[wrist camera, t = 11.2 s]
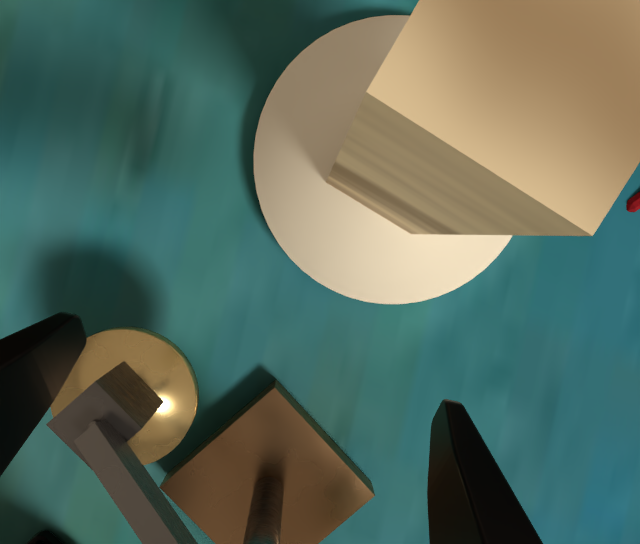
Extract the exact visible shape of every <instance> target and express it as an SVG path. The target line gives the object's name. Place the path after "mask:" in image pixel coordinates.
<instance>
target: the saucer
mask: <svg viewBox="0 0 640 544" xmlns="http://www.w3.org/2000/svg"><path fill="white" fill-rule="evenodd" d="M409 17H410V16H405V15H386V16H377V17H369V18H366V19H362V20H358V21H354V22H351V23H348V24H346V25H343V26H341V27H339V28H336V29H334V30H332V31H330V32H329V33H327V34H325V35H324V36H322V37H320V38H318V39H317V40H316V41H314V42H313V43H312V44H310V45H309V46H308V47H307V48H305V49H304V50H303V51H302V52H301V53H300V54H299V55H298V56H297V57H296V58H295V59H294V60H293V61H292V62H291V63H290V64H289V65H288V66H287V68H286V69H285V70H284V72H283V73H282V74H281V76H280V77H279V79H278V80H277V81H276V83H275V85H274V87H273V89H272V90H271V92H270V94H269V96H268V98H267V100H266V103H265V105H264V108H263V110H262V113H261V115H260V119H259V123H258V127H257V131H256V137H255V145H254V178H255V185H256V192H257V195H258V199H259V202H260V206H261V210H262V212H263V214H264V217H265V219H266V222H267V224H268V226H269V228H270V230H271V232H272V233H273V235H274V237H275V238H276V240H277V242H278V243H279V245H280V246H281V247H282V249H283V250H284V251H285V252H286V254H287V255H288V256H289V258H290V259H291V260H292V261H293V262H294V263H295V264H296V265H297V266H298V267H299V268H300V269H301V270H302V271H304V272H305V273H306V274H308V275H309V276H310V277H312V278H313V279H314V280H316V281H317V282H319V283H320V284H322V285H324V286H326V287H327V288H329V289H331V290H333V291H335V292H337V293H340V294H342V295H345V296H347V297H350V298H354V299H358V300H361V301H365V302H372V303H379V304H406V303H413V302H420V301H424V300H427V299H431V298H435V297H438V296H440V295H443V294H445V293H448V292H450V291H452V290H454V289H456V288H458V287H460V286H461V285H463V284H465V283H467V282H468V281H470V280H471V279H473V278H474V277H475V276H477V275H478V274H479V273H480V272H482V271H483V270H484V269H485V268H486V267H487V266H488V265H489V264H490V263H491V262H492V261H493V260H494V259H495V258H496V257H497V256H498V255H499V254H500V252H501V251H502V250H503V249H504V247H505V246H506V245H507V244H508V242H509V240H510V239H511V237H512V236H513V235H438V234H410V233H408V232H407V231H405V230H403V229H402V228H400V227H398V226H397V225H395V224H393V223H392V222H390V221H388V220H387V219H385V218H384V217H382V216H380V215H379V214H377V213H375V212H374V211H372V210H370V209H369V208H367V207H365V206H364V205H362V204H361V203H359V202H357V201H356V200H354V199H352V198H351V197H349V196H347V195H346V194H344V193H342V192H341V191H339V190H337V189H336V188H334V187H333V186H331V185H329V184H328V183H326V181H327V178H328V176H329V174H330V172H331V169H332V167H333V165H334V163H335V160H336V158H337V156H338V154H339V151H340V149H341V147H342V145H343V142H344V140H345V138H346V136H347V133H348V131H349V129H350V127H351V124H352V122H353V120H354V118H355V115H356V113H357V111H358V109H359V106H360V104H361V102H362V100H363V97H364V95H365V93H366V91H367V89H368V88H369V86H370V84H371V82H372V81H373V79H374V77H375V76H376V74H377V72H378V70H379V69H380V67H381V65H382V64H383V62H384V60H385V58H386V57H387V55H388V53H389V52H390V50H391V48H392V46H393V45H394V43H395V41H396V40H397V38H398V36H399V34H400V33H401V31H402V29H403V28H404V26H405V24H406V22H407V21H408V19H409Z"/></svg>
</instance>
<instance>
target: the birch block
mask: <svg viewBox="0 0 640 544" xmlns="http://www.w3.org/2000/svg"><path fill="white" fill-rule="evenodd" d="M639 162H640V0H419V2H418V4H417V5H416V7H415V9H414V10H413V12H412V14H411V16H410V17H409V19H408V21H407V22H406V24H405V26H404V28H403V29H402V31H401V33H400V34H399V36H398V38H397V40H396V41H395V43H394V45H393V46H392V48H391V50H390V52H389V53H388V55H387V57H386V58H385V60H384V62H383V64H382V65H381V67H380V69H379V70H378V72H377V74H376V76H375V77H374V79H373V81H372V82H371V84H370V86H369V88H368V89H367V91H366V93H365V95H364V97H363V100H362V102H361V104H360V106H359V109H358V111H357V113H356V115H355V118H354V120H353V122H352V124H351V127H350V129H349V131H348V133H347V136H346V138H345V140H344V142H343V145H342V147H341V149H340V151H339V154H338V156H337V158H336V160H335V163H334V165H333V167H332V169H331V172H330V174H329V176H328V178H327V181H326V183H328V184H329V185H331V186H333V187H334V188H336V189H337V190H339V191H341V192H342V193H344V194H346V195H347V196H349V197H351V198H352V199H354V200H356V201H357V202H359V203H361V204H362V205H364V206H365V207H367V208H369V209H370V210H372V211H374V212H375V213H377V214H379V215H380V216H382V217H384V218H385V219H387V220H388V221H390V222H392V223H393V224H395V225H397V226H398V227H400V228H402V229H403V230H405V231H407V232H408V233H410V234H438V235H547V236H593V235H594V233H595V231H596V230H597V228H598V227H599V225H600V224H601V222H602V220H603V219H604V217H605V216H606V214H607V213H608V211H609V209H610V208H611V206H612V205H613V203H614V202H615V200H616V198H617V197H618V195H619V194H620V192H621V191H622V189H623V187H624V186H625V184H626V183H627V181H628V180H629V178H630V176H631V175H632V173H633V172H634V170H635V169H636V167H637V165H638V164H639Z"/></svg>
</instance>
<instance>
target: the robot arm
mask: <svg viewBox="0 0 640 544" xmlns="http://www.w3.org/2000/svg"><path fill="white" fill-rule="evenodd" d="M86 342H87V337H86V334H85V331H84V327H83V324H82V321H81V318H80V317H79V316H78V315H75V314H71V313H66V312H60V313H57V314H55V315H53V316H51V317H48V318H46V319H44V320H42V321H40V322H38V323H35V324H33V325H31V326H29V327H27V328H24V329H22V330H20V331H18V332H16V333H13V334H11V335H9V336H7V337H5V338H2V339H0V476H1V475H2V473H3V472H4V471H5V469H6V468H7V466H8V465H9V464H10V462H11V461H12V459H13V458H14V457H15V455H16V454H17V452H18V451H19V450H20V448H21V447H22V445H23V444H24V443H25V441H26V440H27V438H28V437H29V436H30V434H31V433H32V431H33V430H34V429H35V427H36V426H37V424H38V423H39V422H40V420H41V419H42V417H43V416H44V414H45V413H46V412H47V410H48V409H49V407H50V406H51V404H52V403H53V401H54V400H55V398H56V397H57V395H58V393H59V392H60V390H61V388H62V386H63V385H64V383H65V381H66V379H67V378H68V376H69V374H70V372H71V371H72V369H73V367H74V365H75V364H76V362H77V360H78V358H79V357H80V355H81V353H82V351H83V350H84V348H85V345H86ZM427 496H428V519H429V537H430V544H543V543H542V541H541V539H540V537H539V536H538V534H537V532H536V531H535V529H534V527H533V525H532V524H531V522H530V520H529V518H528V517H527V515H526V513H525V511H524V510H523V508H522V506H521V505H520V503H519V501H518V499H517V498H516V496H515V494H514V492H513V491H512V489H511V487H510V485H509V484H508V482H507V480H506V479H505V477H504V475H503V473H502V472H501V470H500V468H499V466H498V465H497V463H496V461H495V459H494V458H493V456H492V454H491V453H490V451H489V449H488V447H487V446H486V444H485V442H484V440H483V439H482V437H481V435H480V433H479V432H478V430H477V428H476V427H475V425H474V423H473V421H472V420H471V418H470V416H469V414H468V413H467V411H466V409H465V407H464V406H463V405H462V404H461V403H460V402H457V401H452V400H448V399H444V400H443V401H442V402H441V404H440V406H439V408H438V410H437V412H436V414H435V416H434V418H433V420H432V425H431V437H430V454H429V471H428V490H427ZM41 540H42V541H44V542H45V543H43V542H41ZM26 544H63V543H62V542H61V541H60V540H59V539H58V538H56V537H55V536H54V535H53V534H52V533H51V532H49V531H46V530H44V531H40V532H39V533H37V534H36V535H35V536H34V537H33V538H32V539H31V540H29V541H28V542H27V543H26Z"/></svg>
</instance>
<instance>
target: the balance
mask: <svg viewBox="0 0 640 544" xmlns="http://www.w3.org/2000/svg"><path fill="white" fill-rule="evenodd" d="M198 401H199V388H198V382H197V378H196V375H195V372H194V370H193V367H192V365H191V363H190V362H189V360H188V359H187V357H186V356H185V354H184V353H183V352H182V351H181V350H180V349H179V348H178V347H177V346H176V345H175V344H174V343H173V342H171V341H170V340H168V339H167V338H166V337H164V336H162V335H160V334H158V333H156V332H153V331H150V330H147V329H143V328H138V327H116V328H111V329H107V330H103V331H101V332H98V333H96V334H94V335H92V336H90V337H88V338H87V342H86V345H85V348H84V350H83V351H82V353H81V355H80V357H79V358H78V360H77V362H76V364H75V365H74V367H73V369H72V371H71V372H70V374H69V376H68V378H67V379H66V381H65V383H64V385H63V386H62V388H61V390H60V392H59V393H58V395H57V397H56V398H55V400H54V401H53V403H52V404H51V411H52V415H53V419H52V420H51V421H50V422H48V423H47V424H46V425H47V426H48V427H49V428H50V429H51V430H52V431H53V432H54V433H55V434H56V435H57V436H58V437H59V438H60V439H61V440H62V441H63V442H64V443H65V444H67V445H68V446H69V447H70V448H71V449H72V450H73V451H74V452H75V453H76V454H77V455H78V456H79V457H80V458H81V459H82V460H83V461H84V462H85V463H86V464H87V465H88V466H89V467H90V468H91V469H92V470H93V471H94V472H95V474H96V475H97V477H98V478H99V480H100V481H101V483H102V484H103V486H104V487H105V489H106V490H107V492H108V493H109V495H110V496H111V498H112V499H113V501H114V502H115V503H116V505H117V506H118V508H119V509H120V511H121V512H122V514H123V515H124V517H125V518H126V520H127V521H128V523H129V524H130V526H131V527H132V529H133V530H134V532H135V533H136V535H137V536H138V538H139V539H140V541H141V542H142V544H198V543H197V542H196V541H195V539H194V538H193V536H192V535H191V533H190V532H189V530H188V529H187V528H186V526H185V525H184V523H183V522H182V520H181V519H180V518H179V516H178V515H177V513H176V512H175V510H174V509H173V508H172V506H171V505H170V503H169V502H168V500H167V499H166V498H165V496H164V495H163V493H162V492H161V490H160V489H159V488H158V486H157V485H156V483H155V482H154V480H153V479H152V478H151V476H150V475H149V473H148V472H147V470H146V469H145V467H144V466H143V465H146V464H149V463H152V462H154V461H157V460H159V459H160V458H162V457H164V456H165V455H167V454H168V453H169V452H171V451H172V450H173V449H174V448H175V447H176V446H177V445H178V444H179V443H180V442H181V440H182V439H183V438H184V436H185V435H186V433H187V431H188V430H189V428H190V426H191V424H192V423H193V420H194V418H195V415H196V412H197V408H198ZM160 488H161V489H162V490H163V491H164V492H165V493H166V494H167V495H168V496H169V497H170V498H171V499H172V500H173V501H174V502H175V503H176V504H177V505H178V506H179V507H180V508H181V509H182V510H183V511H184V512H185V513H186V514H187V515H188V516H189V517H190V518H191V519H192V520H193V521H194V522H195V523H196V524H197V525H198V526H199V527H200V528H201V529H202V530H203V531H204V532H205V533H206V534H207V535H208V536H209V537H210V538H211V539H212V540H213V541H214V542H215V543H216V544H318V543H319V542H321V541H322V540H323V539H324V538H325V537H327V536H328V535H329V534H330V533H331V532H332V531H334V530H335V529H336V528H337V527H338V526H340V525H341V524H342V523H343V522H344V521H345V520H347V519H348V518H349V517H350V516H351V515H353V514H354V513H355V512H356V511H357V510H358V509H360V508H361V507H362V506H363V505H364V504H366V503H367V502H368V501H369V500H370V499H371V498H373V497H374V496H375V494H374V490H373V487H372V483H371V481H370V480H369V479H368V478H367V477H366V476H365V475H364V474H363V473H362V471H361V470H360V469H359V468H358V467H357V466H356V465H355V464H354V463H353V462H352V461H351V460H350V458H349V457H348V456H347V455H346V454H345V453H344V452H343V451H342V450H341V449H340V448H339V447H338V446H337V444H336V443H335V442H334V441H333V440H332V439H331V438H330V437H329V436H328V435H327V434H326V433H325V431H324V430H323V429H322V428H321V427H320V426H319V425H318V424H317V423H316V422H315V421H314V420H313V418H312V417H311V416H310V415H309V414H308V413H307V412H306V411H305V410H304V409H303V408H302V407H301V405H300V404H299V403H298V402H297V401H296V400H295V399H294V398H293V397H292V396H291V395H290V394H289V393H288V391H287V390H286V389H285V388H284V387H283V386H282V385H281V384H280V383H279V382H278V381H277V380H275V381H274V382H272V383H271V384H270V385H269V386H268V387H267V388H266V389H264V390H263V391H262V392H261V393H260V394H259V395H257V396H256V397H255V398H254V399H253V400H252V401H251V402H249V403H248V404H247V405H246V406H245V407H244V408H242V409H241V410H240V411H239V412H238V413H237V414H236V415H234V416H233V417H232V418H231V419H230V420H229V421H227V422H226V423H225V424H224V425H223V426H222V427H221V428H219V429H218V430H217V431H216V432H215V433H214V434H212V435H211V436H210V437H209V438H208V439H207V440H206V441H204V442H203V443H202V444H201V445H200V446H199V447H197V448H196V449H195V450H194V451H193V452H192V453H191V454H189V455H188V456H187V457H186V458H185V459H184V460H182V461H181V462H180V463H179V464H178V465H177V466H176V467H174V468H173V469H172V470H171V471H170V472H169V473H167V475H166V477H165V478H164V480H163V482H162V484H161V485H160Z"/></svg>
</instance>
